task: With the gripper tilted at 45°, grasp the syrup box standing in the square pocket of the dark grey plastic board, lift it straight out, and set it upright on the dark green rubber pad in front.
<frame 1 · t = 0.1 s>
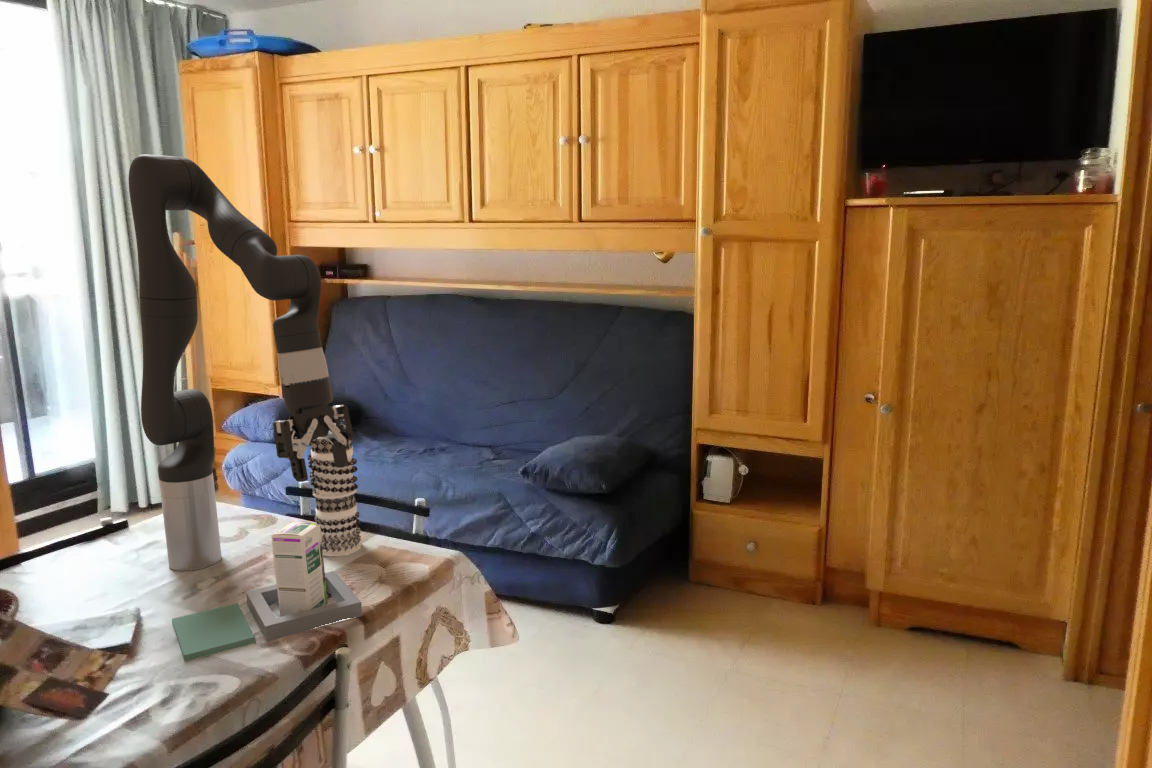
hand: (322, 473, 137), 22 cm above the table, tool pointing down, fingers open, 8 cm apart
decorative candle: (339, 549, 164), on the table
syrup box: (303, 611, 137), resting in pocket board
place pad: (213, 633, 130), on the table
pocket board: (303, 610, 137), on the table
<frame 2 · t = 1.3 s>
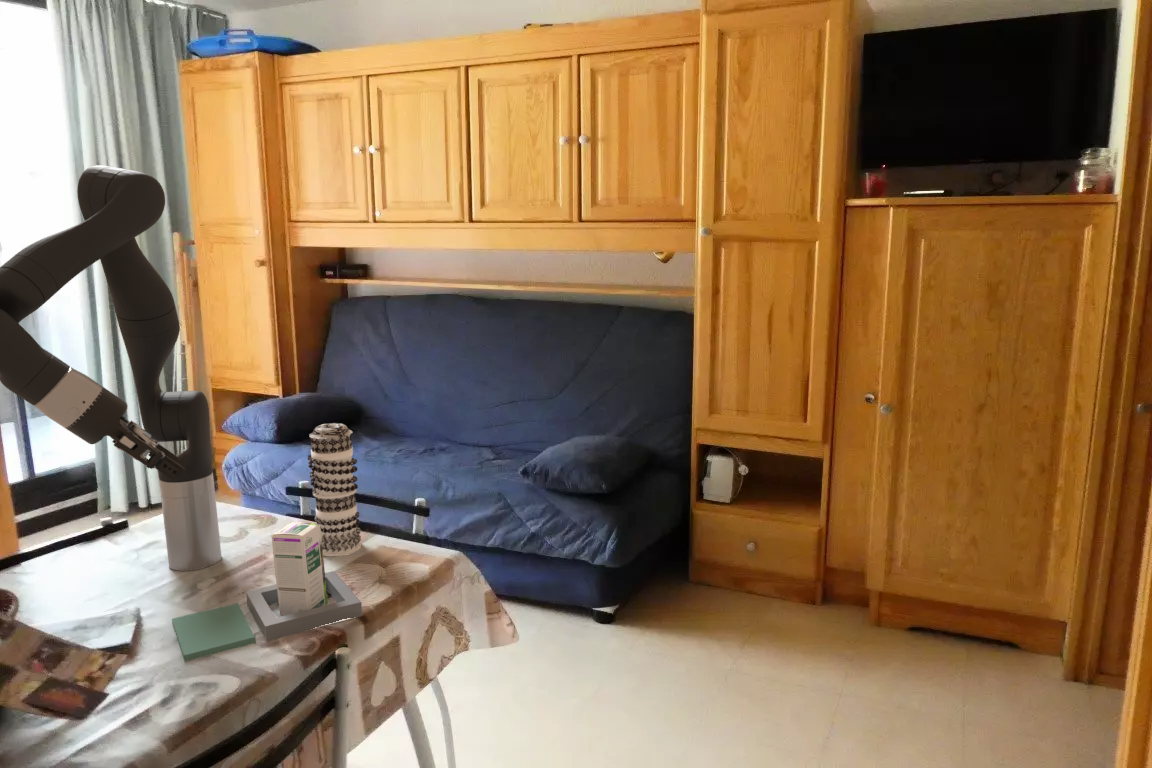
hand: (177, 469, 126), 26 cm above the table, tool tilted 45°, fingers open, 8 cm apart
nothing on the table moved.
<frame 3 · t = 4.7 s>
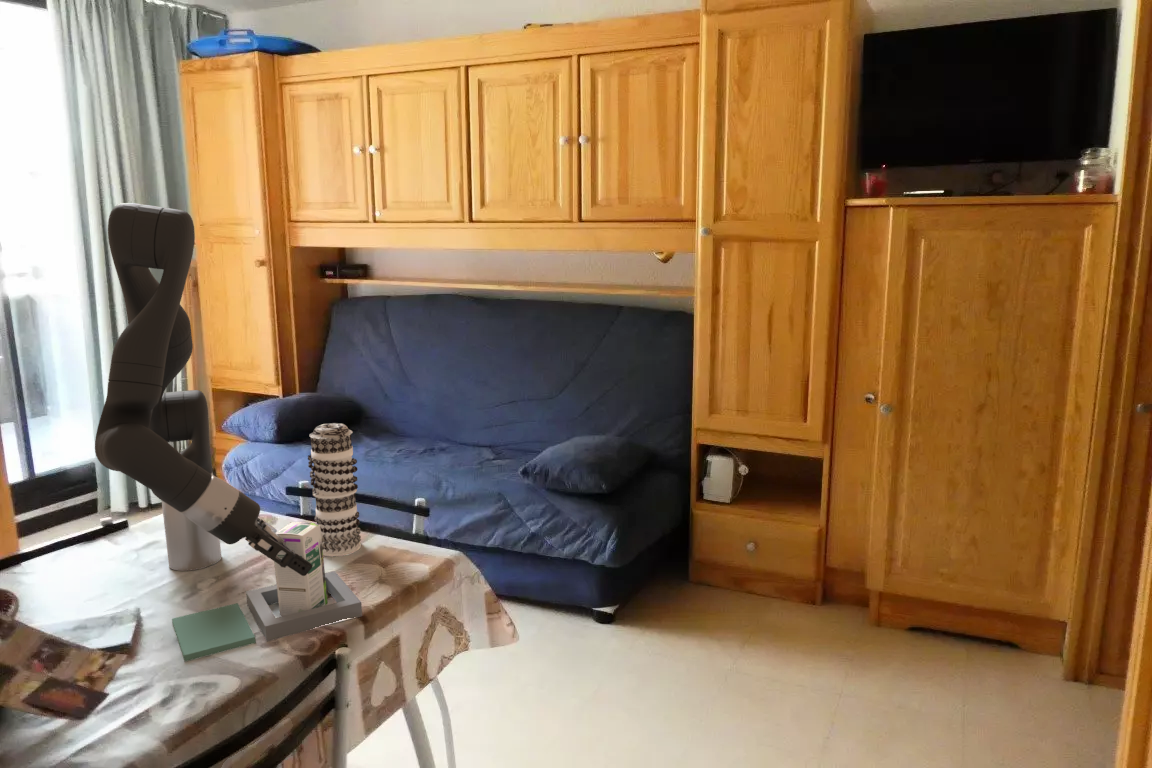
hand: (301, 562, 136), 9 cm above the table, tool tilted 45°, fingers open, 8 cm apart
syrup box: (303, 611, 137), resting in pocket board, touching gripper
everything else where it was.
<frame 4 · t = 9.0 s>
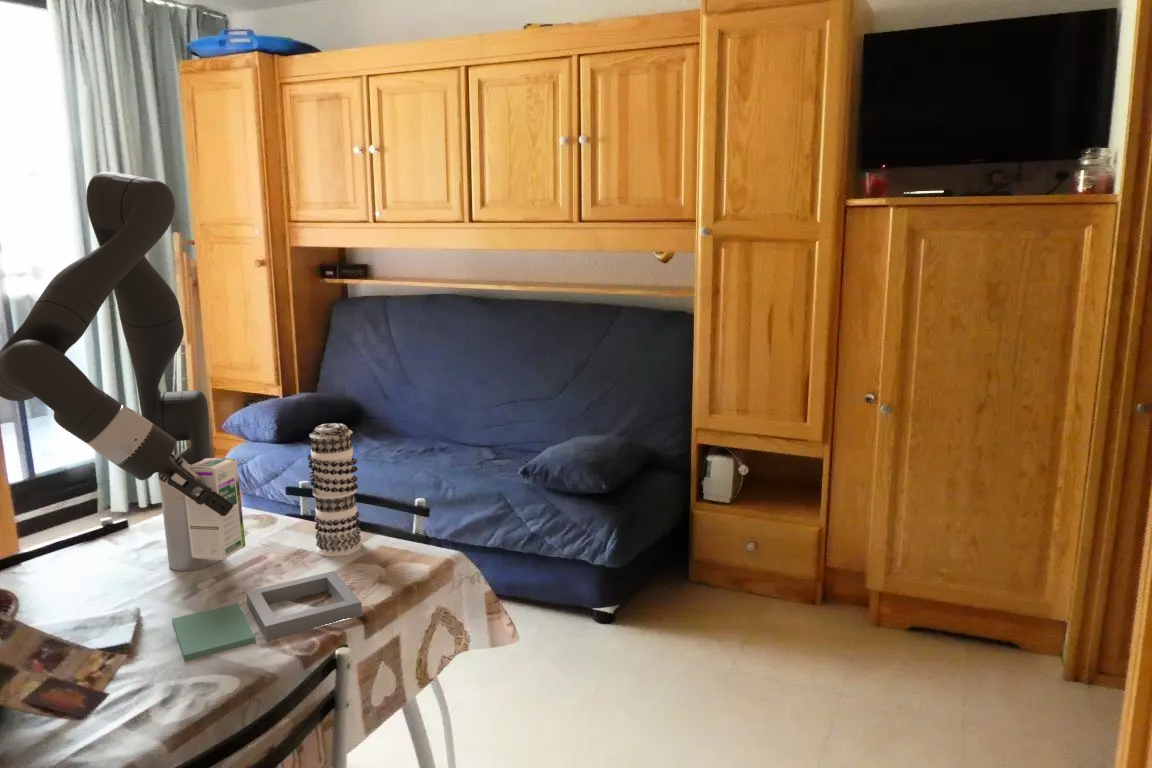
hand: (223, 503, 128), 21 cm above the table, tool tilted 45°, fingers closed on syrup box, 8 cm apart
syrup box: (218, 553, 128), point 13 cm above the table, touching gripper
everything else where it was.
when the fingers open (10 cm above the table, at t = 11.9 s): syrup box drops 1 cm, resting on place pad.
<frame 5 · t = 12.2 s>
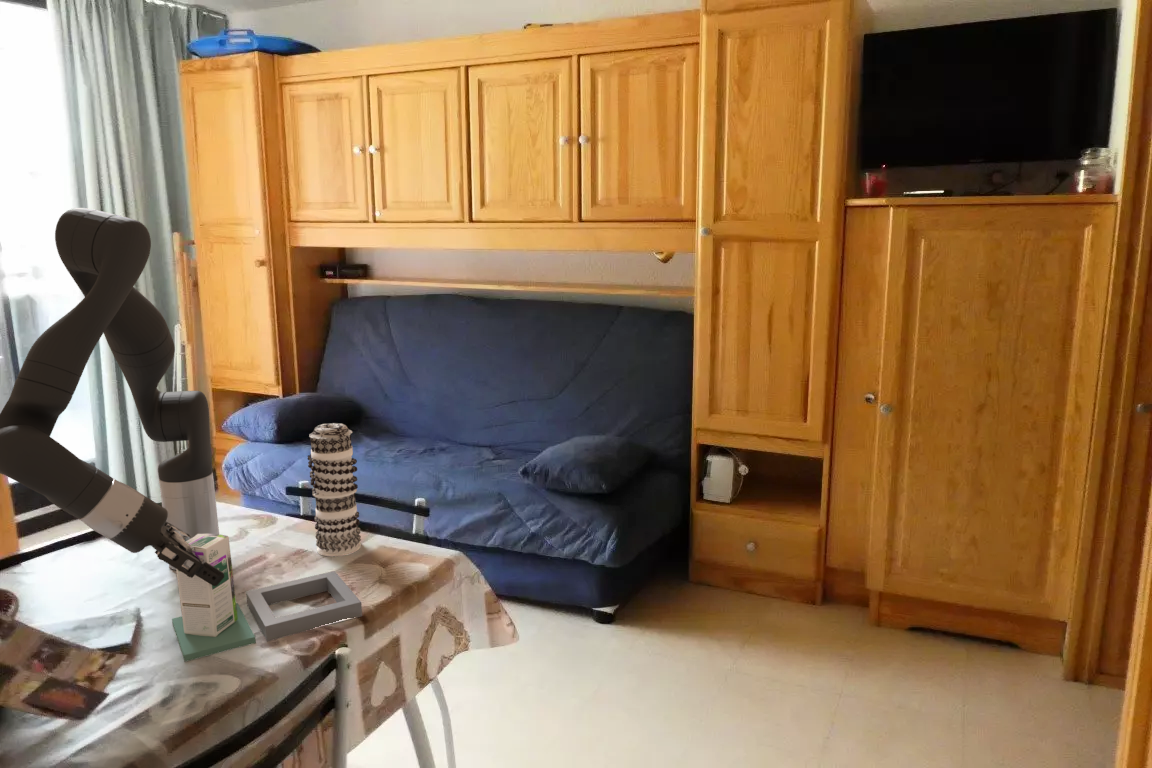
hand: (215, 570, 129), 10 cm above the table, tool tilted 45°, fingers open, 8 cm apart
syrup box: (211, 628, 130), point 1 cm above the table, touching gripper, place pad
everything else where it was.
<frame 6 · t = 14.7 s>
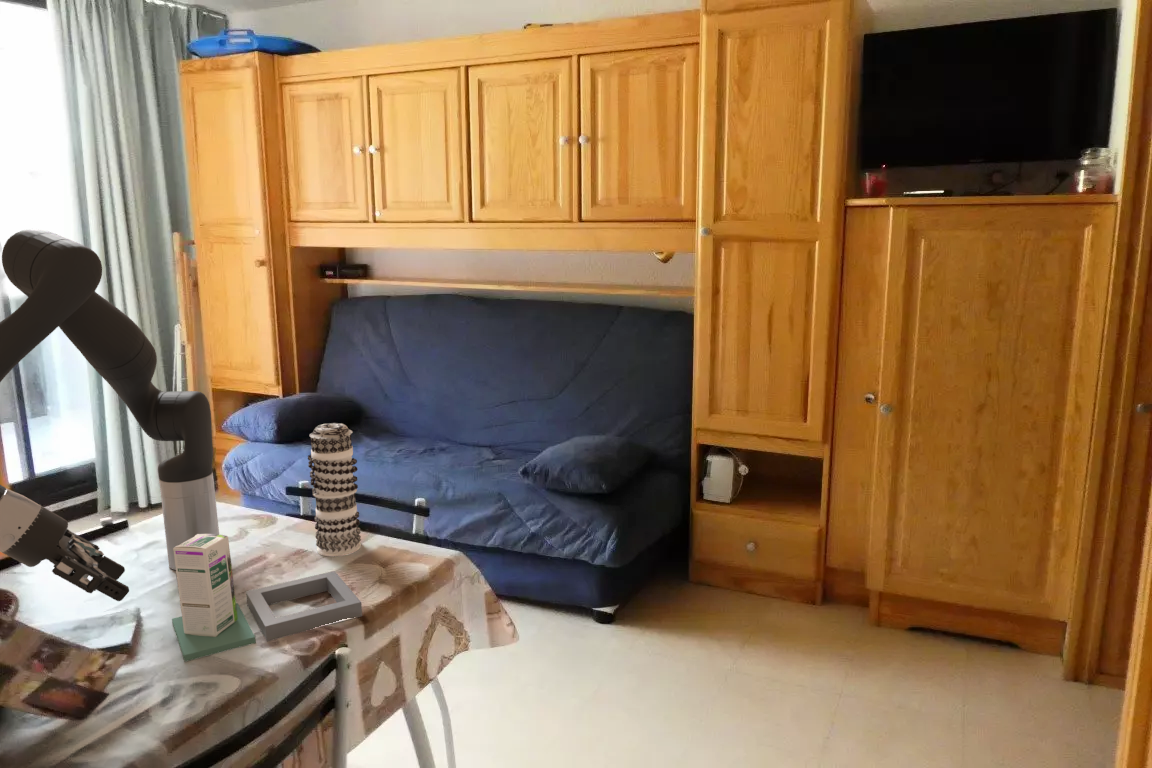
hand: (123, 584, 122), 11 cm above the table, tool tilted 45°, fingers open, 8 cm apart
syrup box: (210, 628, 130), point 1 cm above the table, touching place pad
everything else where it was.
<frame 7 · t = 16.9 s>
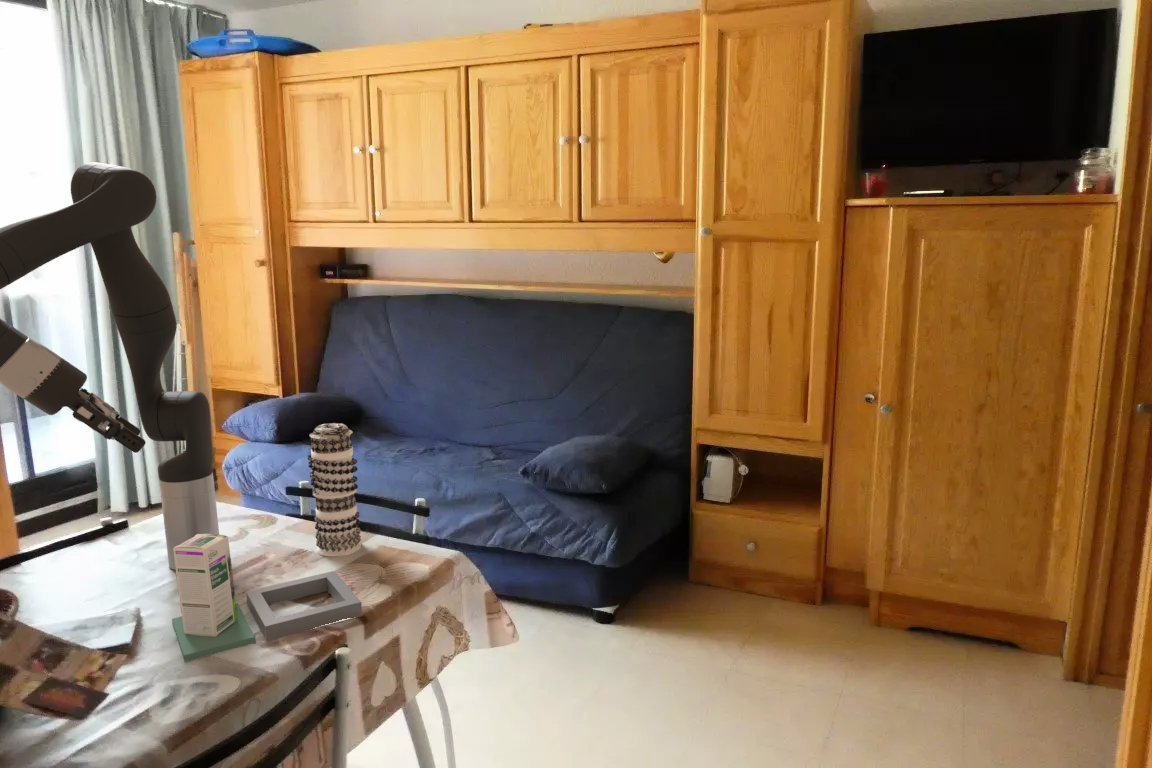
hand: (139, 441, 126), 31 cm above the table, tool tilted 45°, fingers open, 8 cm apart
nothing on the table moved.
at the end: syrup box inside the target area on the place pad (0.3 cm from its centre), point 0.8 cm above the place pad's base; syrup box tilted 0°; the gripper is holding nothing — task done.
